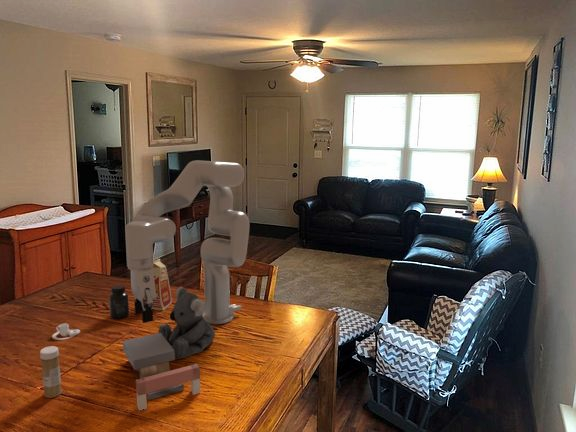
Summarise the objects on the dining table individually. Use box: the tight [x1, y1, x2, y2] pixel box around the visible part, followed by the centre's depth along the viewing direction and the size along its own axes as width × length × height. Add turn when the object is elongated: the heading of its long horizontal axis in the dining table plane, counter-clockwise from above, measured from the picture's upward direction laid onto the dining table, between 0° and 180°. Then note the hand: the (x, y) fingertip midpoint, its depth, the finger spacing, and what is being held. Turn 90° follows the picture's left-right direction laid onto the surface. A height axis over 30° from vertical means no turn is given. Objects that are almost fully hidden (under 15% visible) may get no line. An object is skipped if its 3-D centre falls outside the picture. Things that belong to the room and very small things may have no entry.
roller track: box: [135, 361, 185, 401], centre depth 145 cm, size 10×25×4 cm, turn 31°
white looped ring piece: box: [51, 322, 81, 341], centre depth 170 cm, size 9×8×4 cm
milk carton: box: [144, 258, 173, 311], centre depth 196 cm, size 9×9×20 cm
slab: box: [122, 333, 176, 371], centre depth 148 cm, size 12×14×3 cm
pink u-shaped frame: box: [135, 363, 201, 412], centre depth 132 cm, size 17×2×8 cm, turn 121°
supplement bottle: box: [108, 284, 130, 321], centre depth 185 cm, size 7×7×12 cm
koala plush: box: [158, 286, 216, 360], centre depth 162 cm, size 17×18×20 cm
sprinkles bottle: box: [39, 345, 63, 399], centre depth 133 cm, size 5×5×14 cm
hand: (144, 316), depth 150 cm, fingers open, 6 cm apart
